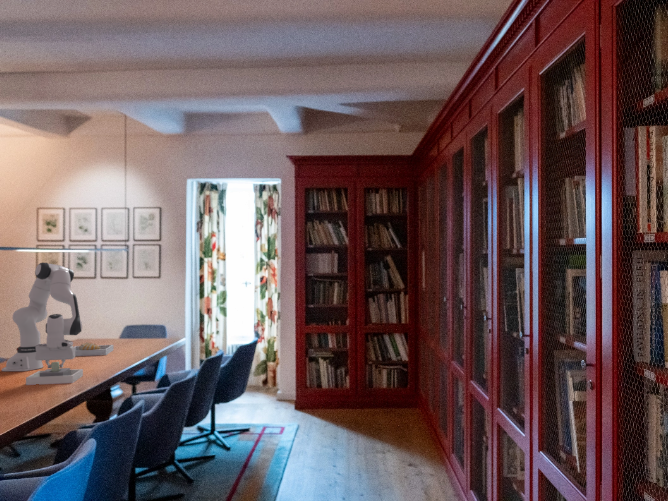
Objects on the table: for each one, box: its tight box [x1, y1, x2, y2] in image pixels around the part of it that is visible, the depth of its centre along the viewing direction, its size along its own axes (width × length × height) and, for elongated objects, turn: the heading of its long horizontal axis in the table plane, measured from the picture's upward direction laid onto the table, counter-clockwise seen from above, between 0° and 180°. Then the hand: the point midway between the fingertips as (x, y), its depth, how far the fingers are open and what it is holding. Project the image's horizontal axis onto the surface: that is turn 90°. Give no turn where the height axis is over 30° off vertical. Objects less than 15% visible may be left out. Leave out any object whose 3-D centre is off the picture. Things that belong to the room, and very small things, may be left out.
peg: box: [50, 361, 60, 372], centre depth 299 cm, size 4×4×9 cm
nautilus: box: [79, 341, 100, 350], centre depth 386 cm, size 8×21×15 cm
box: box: [25, 367, 84, 386], centre depth 299 cm, size 24×18×6 cm
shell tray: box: [73, 344, 114, 357], centre depth 386 cm, size 27×21×4 cm
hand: (55, 367), depth 299 cm, fingers open, 5 cm apart
